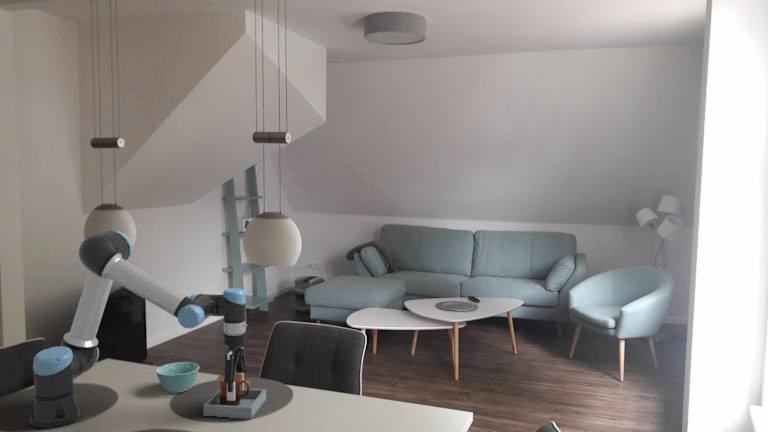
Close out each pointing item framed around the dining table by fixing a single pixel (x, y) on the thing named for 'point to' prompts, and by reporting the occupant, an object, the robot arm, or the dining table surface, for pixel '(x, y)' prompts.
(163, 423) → the dining table surface
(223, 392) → the mug
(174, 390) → the bowl
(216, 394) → the tray
